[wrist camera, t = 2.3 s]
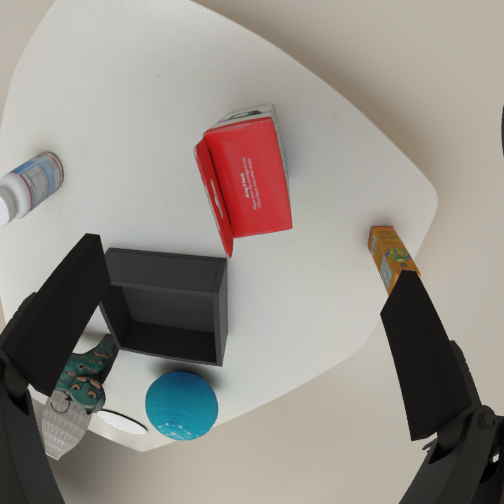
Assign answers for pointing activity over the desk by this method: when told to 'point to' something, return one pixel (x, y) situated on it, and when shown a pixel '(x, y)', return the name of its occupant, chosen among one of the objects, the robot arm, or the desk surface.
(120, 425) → the plate
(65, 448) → the vase
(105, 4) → the desk surface
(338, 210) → the desk surface
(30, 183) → the pill bottle
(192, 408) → the decorative orb
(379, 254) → the supplement box
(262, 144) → the ink box
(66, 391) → the ceramic cat
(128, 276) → the basket
